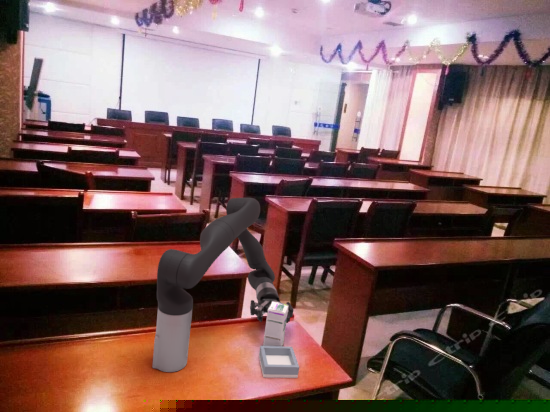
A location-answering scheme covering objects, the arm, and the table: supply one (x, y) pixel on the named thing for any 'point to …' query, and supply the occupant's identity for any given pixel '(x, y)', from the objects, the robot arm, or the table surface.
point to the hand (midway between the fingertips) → (274, 320)
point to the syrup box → (275, 324)
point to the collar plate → (278, 362)
